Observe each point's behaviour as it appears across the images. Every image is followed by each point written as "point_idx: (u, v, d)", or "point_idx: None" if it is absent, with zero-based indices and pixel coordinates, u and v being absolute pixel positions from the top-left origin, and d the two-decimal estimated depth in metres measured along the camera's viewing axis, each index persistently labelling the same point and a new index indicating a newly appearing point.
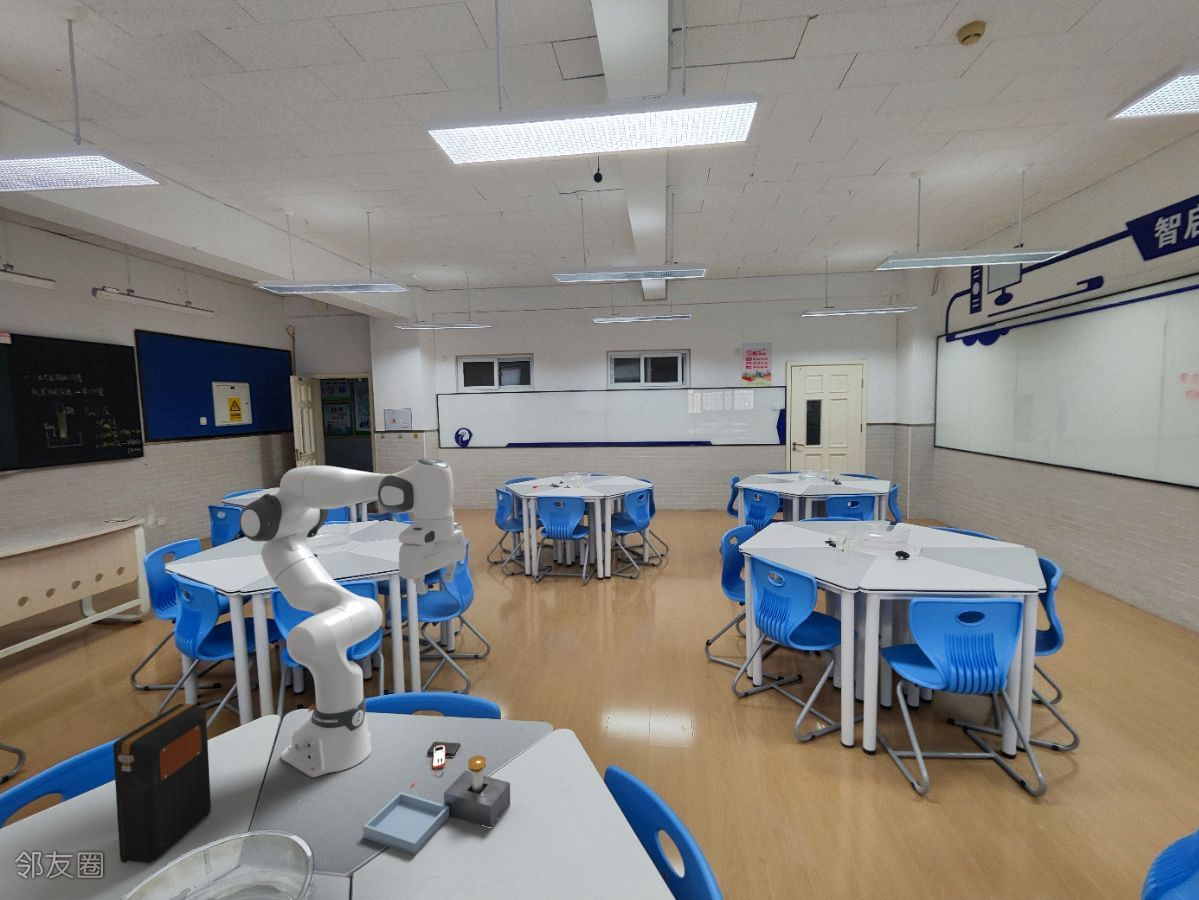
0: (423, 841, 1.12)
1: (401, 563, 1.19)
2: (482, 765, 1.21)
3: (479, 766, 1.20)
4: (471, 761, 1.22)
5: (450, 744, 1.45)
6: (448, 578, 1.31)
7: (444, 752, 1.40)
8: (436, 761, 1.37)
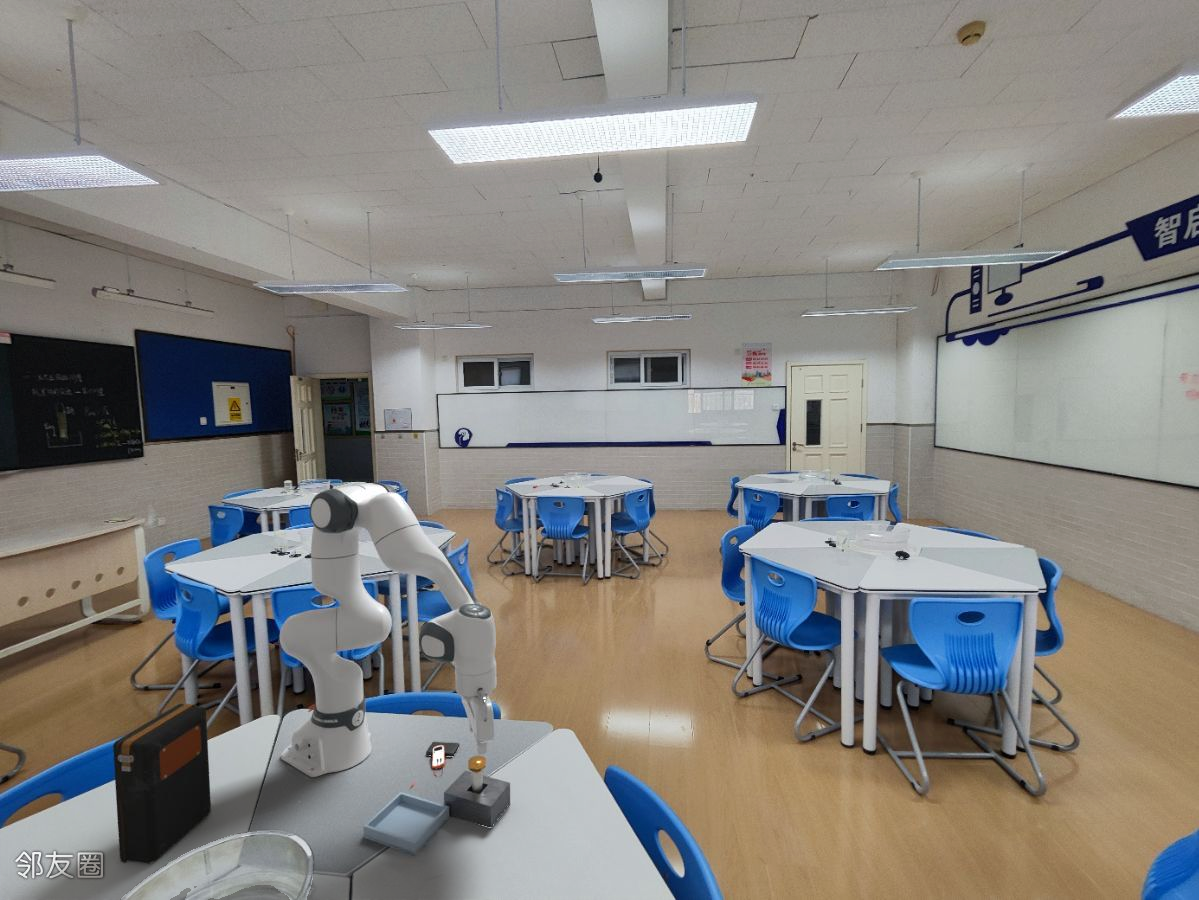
0: (423, 841, 1.12)
1: None
2: (482, 765, 1.21)
3: (479, 766, 1.20)
4: (471, 761, 1.22)
5: (449, 744, 1.45)
6: None
7: (443, 752, 1.40)
8: (435, 761, 1.37)
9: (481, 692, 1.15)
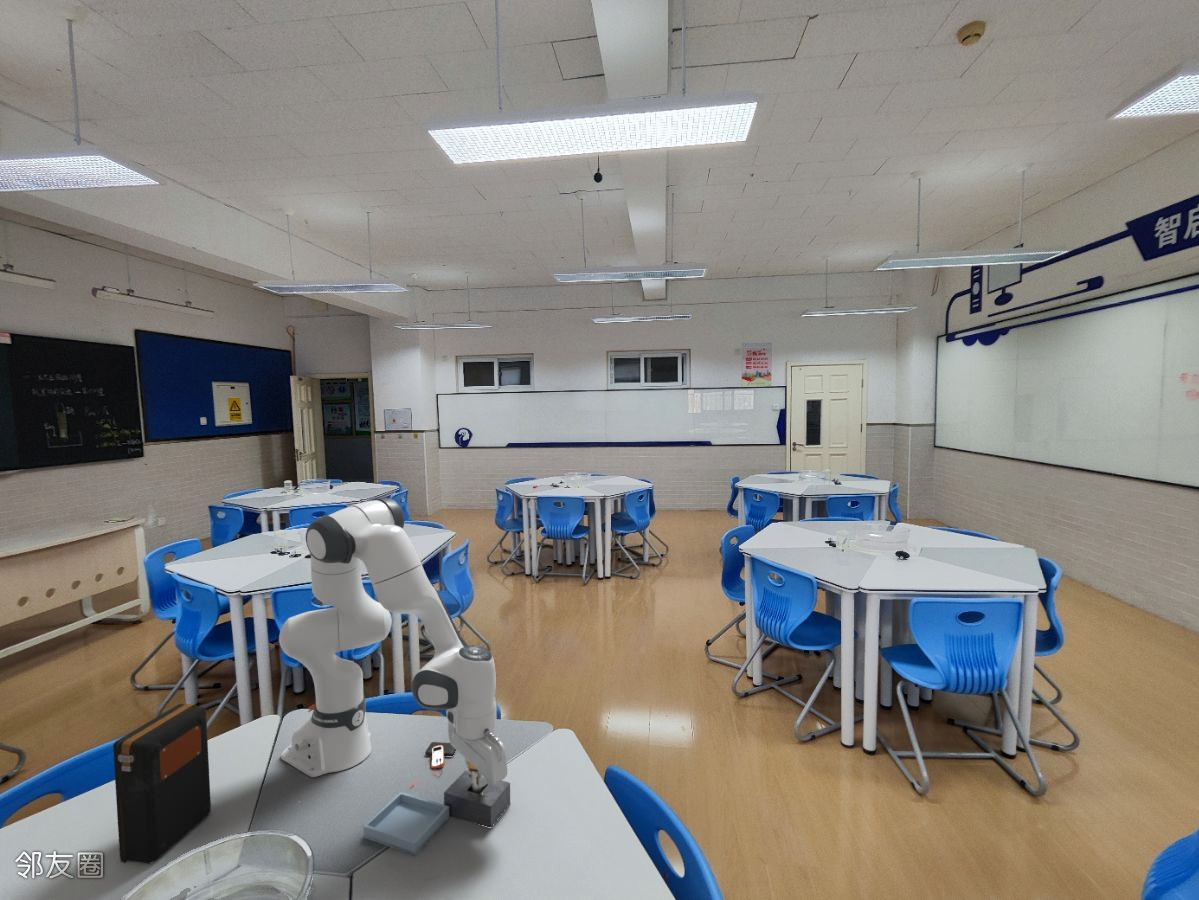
0: (423, 841, 1.12)
1: None
2: None
3: None
4: None
5: (448, 745, 1.45)
6: None
7: (442, 752, 1.40)
8: (435, 761, 1.37)
9: (490, 733, 1.17)
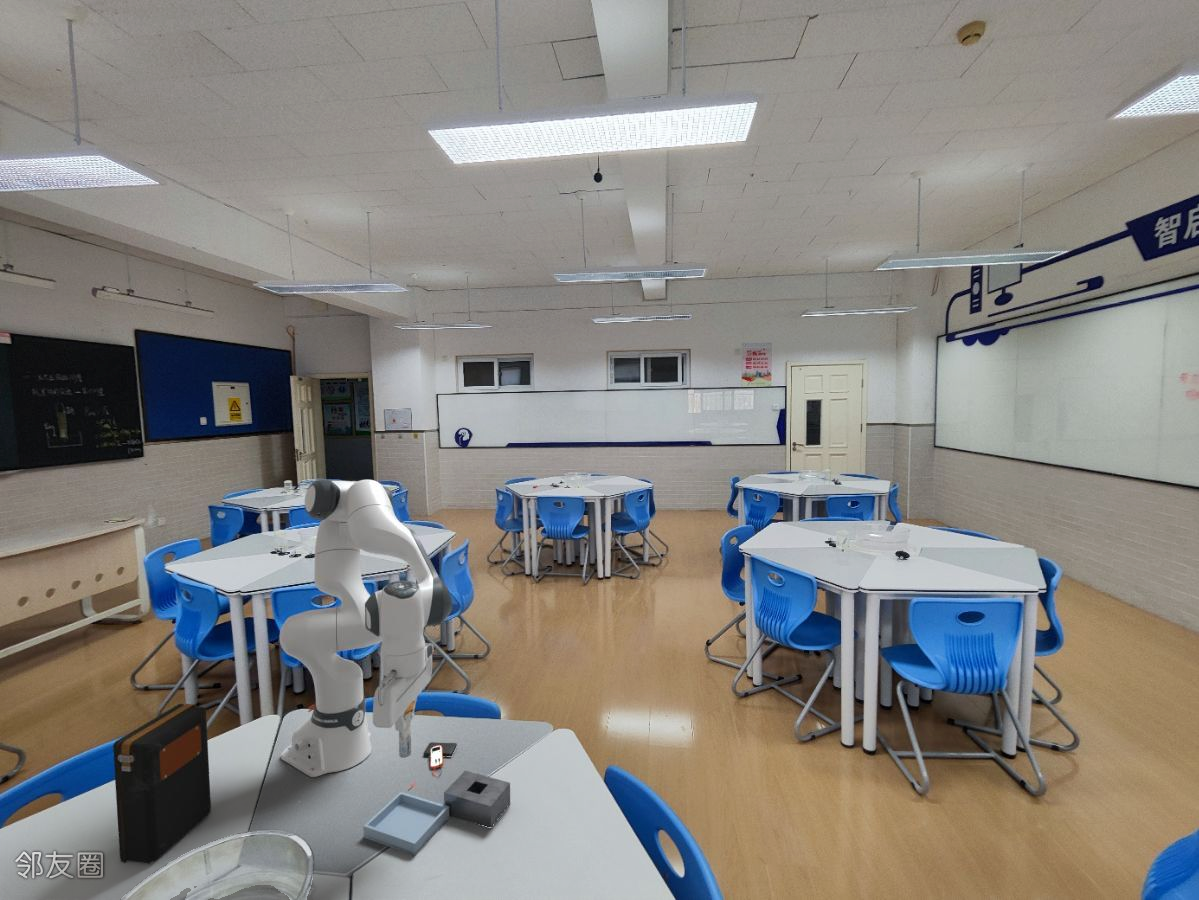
0: (423, 841, 1.12)
1: None
2: None
3: None
4: None
5: (447, 745, 1.45)
6: None
7: (441, 752, 1.40)
8: (434, 761, 1.37)
9: (388, 674, 1.09)
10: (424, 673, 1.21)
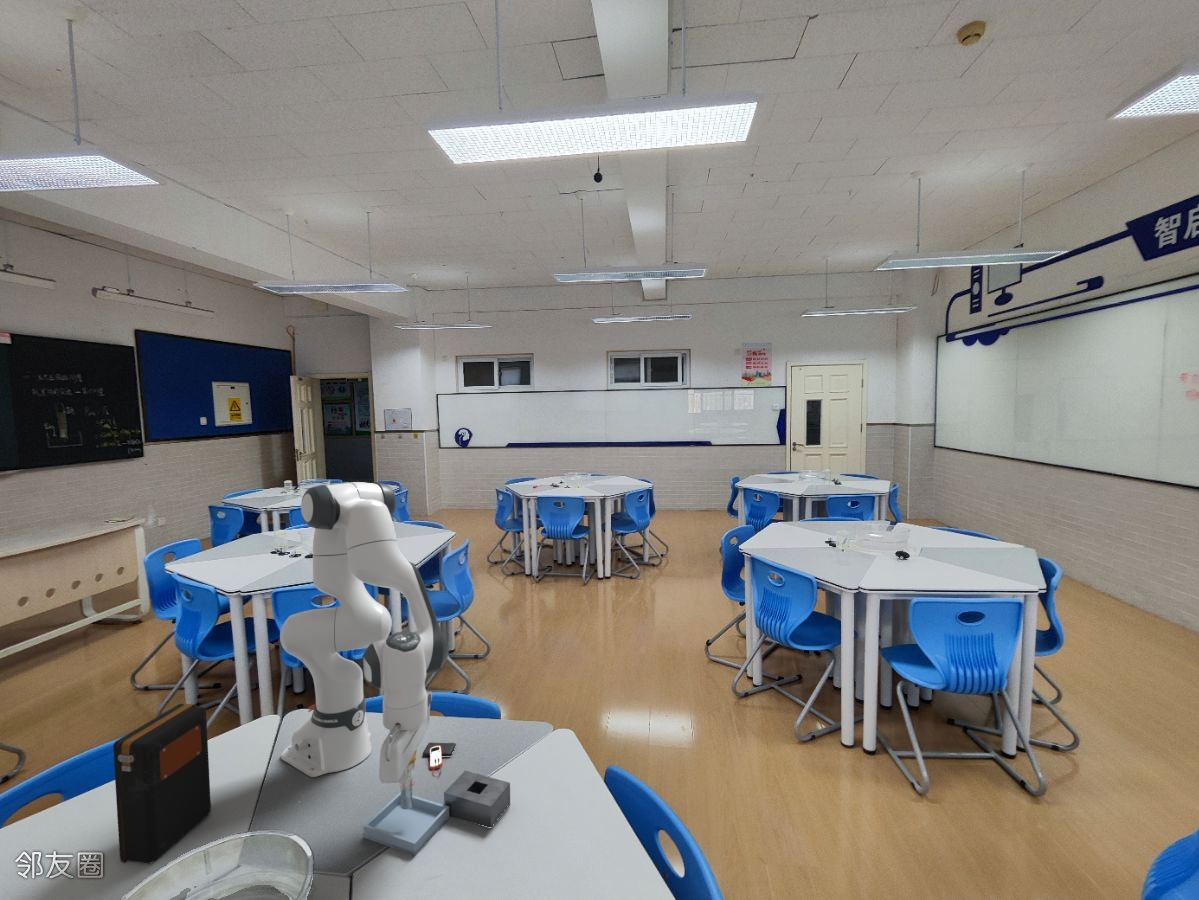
0: (423, 841, 1.12)
1: None
2: None
3: None
4: None
5: (446, 745, 1.45)
6: None
7: (440, 752, 1.40)
8: (433, 762, 1.37)
9: (394, 728, 1.09)
10: (423, 722, 1.22)
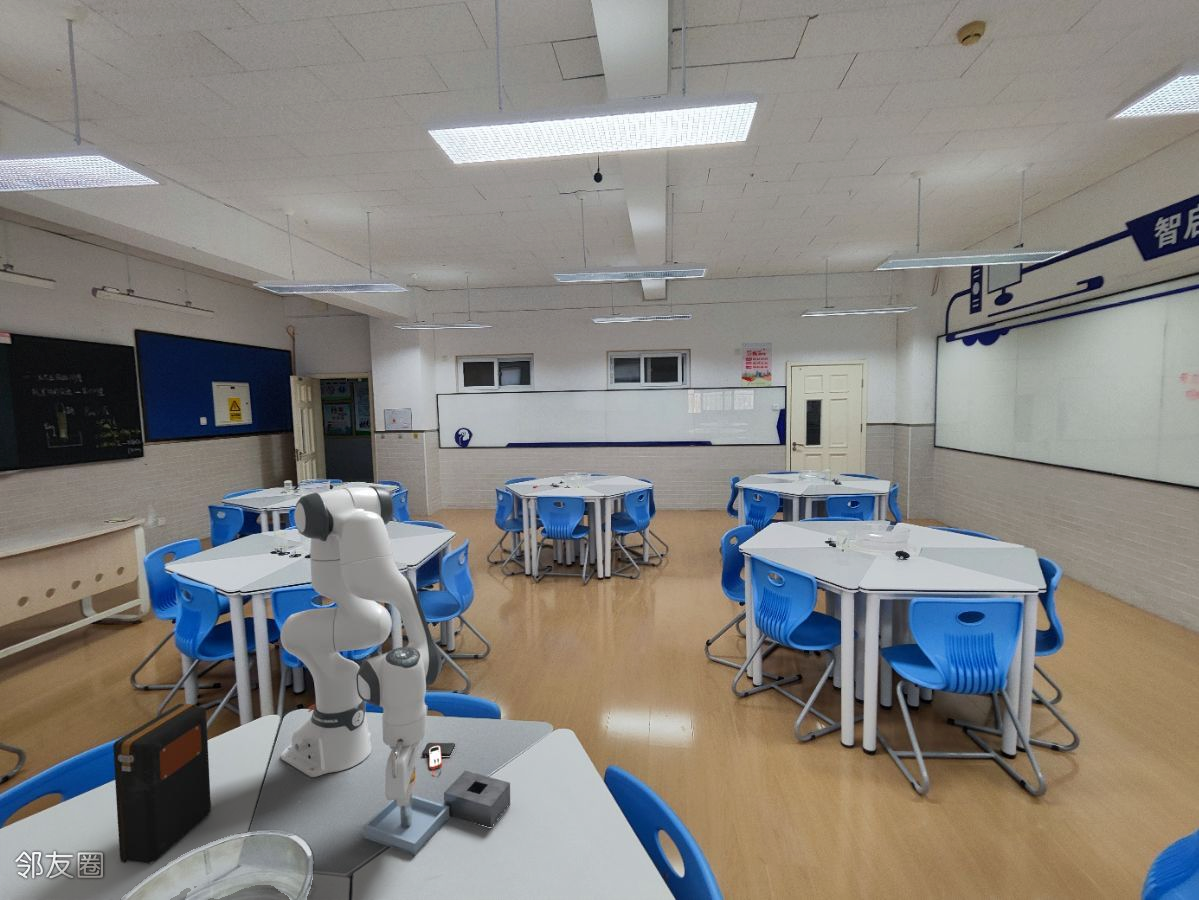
0: (423, 841, 1.12)
1: None
2: None
3: None
4: None
5: (445, 745, 1.44)
6: None
7: (440, 752, 1.40)
8: (433, 762, 1.37)
9: (397, 745, 1.10)
10: None
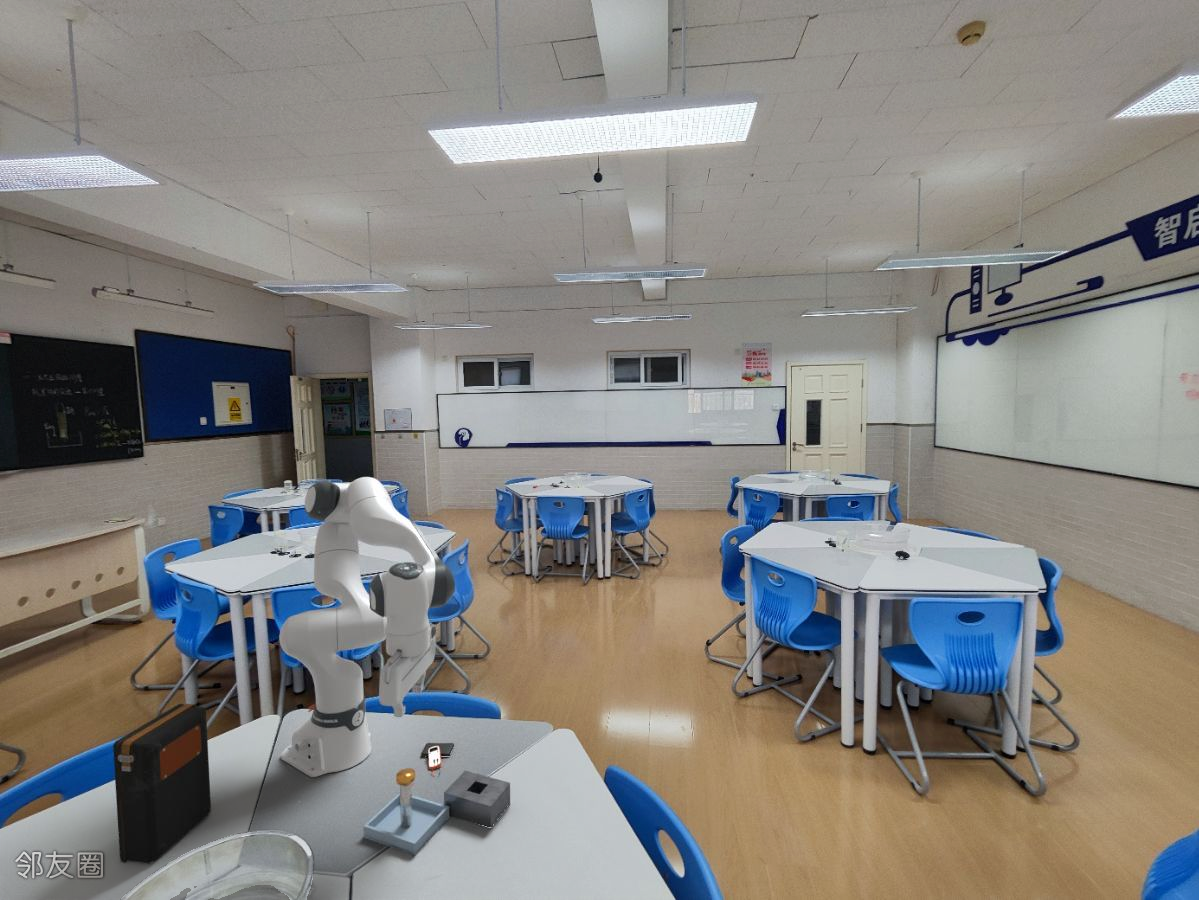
0: (423, 841, 1.12)
1: None
2: (405, 781, 1.15)
3: (401, 780, 1.15)
4: (401, 772, 1.17)
5: (444, 745, 1.44)
6: None
7: (439, 752, 1.40)
8: (432, 762, 1.37)
9: (394, 654, 1.10)
10: (428, 653, 1.23)
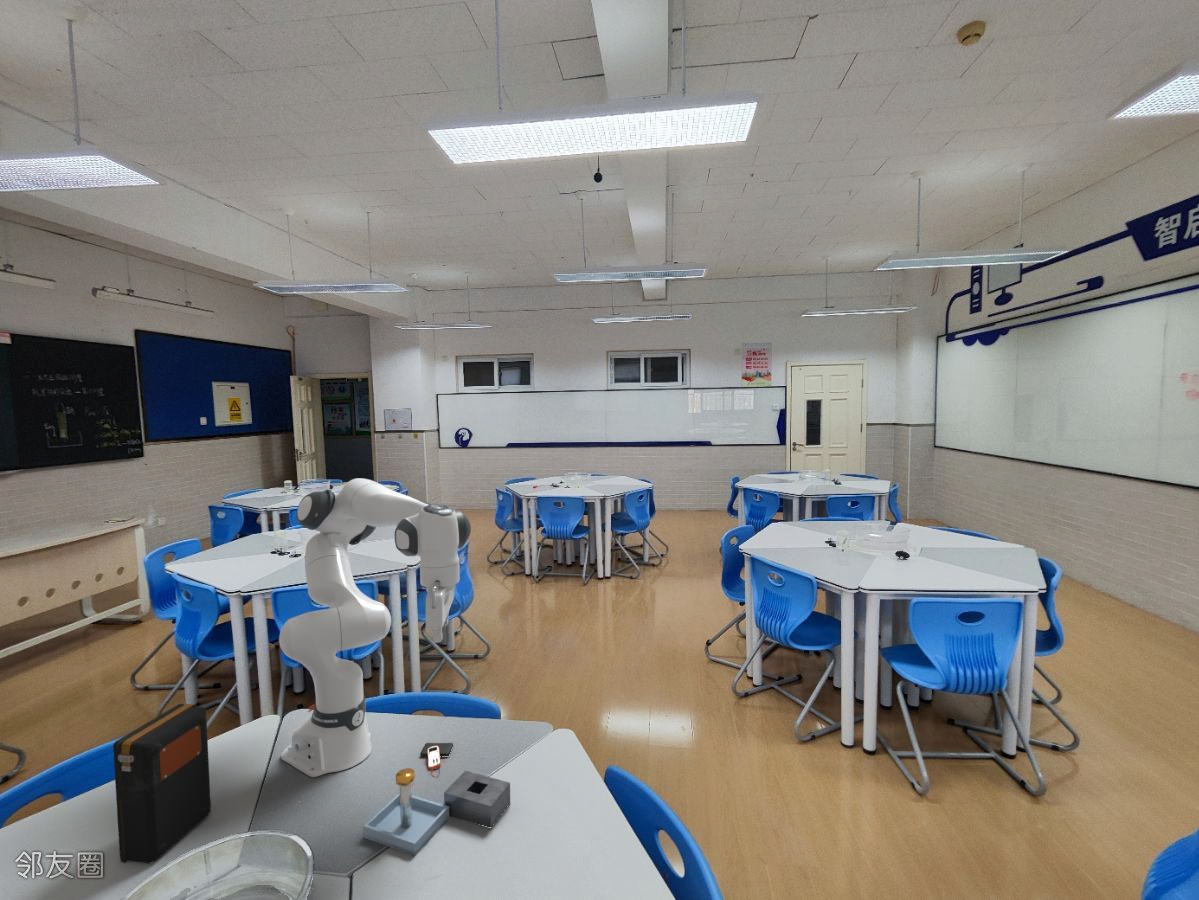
0: (423, 841, 1.12)
1: None
2: (404, 781, 1.15)
3: (401, 780, 1.15)
4: (400, 772, 1.17)
5: (443, 745, 1.44)
6: None
7: (438, 752, 1.40)
8: (431, 762, 1.37)
9: (435, 583, 1.21)
10: (451, 590, 1.34)
